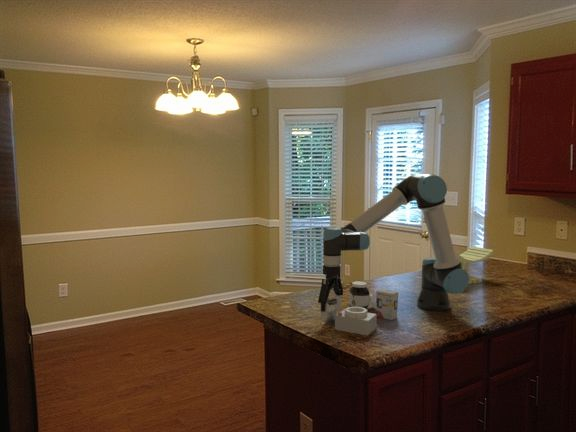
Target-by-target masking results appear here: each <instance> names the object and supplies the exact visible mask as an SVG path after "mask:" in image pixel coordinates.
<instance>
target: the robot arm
mask: <svg viewBox="0 0 576 432" xmlns="http://www.w3.org/2000/svg"><path fill="white" fill-rule="evenodd" d="M447 193H448V187H447V183H446V181H445V180H444V179H443V177H441V176H439V175H436V174H432V173H415V174H411V175H410V176H408V177H406V178H405V179H403V180H402V181H400V182H399V183H398V184H396V185H395V186H394V187H392V190H391V192H389V193H388V194H386V195H385V196H384V197H382V198H381V199H380V200H379V201H377V202H376V203H374V204H373V205H372V206H370V207H369V208H368V209H367V210H365V211H364V212H363V213H361V214H359V216H357V217H356V218H355V219H352V221H350V222H349V223H348V224H346V225H345V226H342V227H326V228H324V230H323V235H322V240H323V241H322V244H323V245H322V251H323V252H322V264H323V265H322V274H323V275H325V278H322V279H321V286H320V291H319V296H318V300H317V302H318V304H320V319H322V320H326V319H327V307H328V303H327V300H328V298H329V296H330V292H331V290H333V291H334V295H333V297H334V299H337V306H336V312H337V311H339V312H341V303H342V302H341V301H342V300H341V299H342V298H341V297H342V296H343V295H344V290H343V289H344V288H343V284H342V279H341V278H342V277H341V276H342V275H341V274H342V272H341V271H342V268H341V267H342V266H341V264H342V251H343V252H344V251H364V250H365V251H366V250H368V249H369V247H370V245H371V244H370V243H371V242H370V241H371V240H370V236H369V234H368V233H367V231H369V230H370V229H371V228H373V227H374V226H376V225H377V224H378V223H380V222H381V221H383V220H384V219H385V218H387V217H388V216H389V215H390V214H391V213H394V211H396V210H397V209H398V208H400V207H401V206H407V204H409V203H411V202H414V201H416V205H417V208H418V209H419V210H420V211H422V214H423V217H424V221H425V225H426V228H427V232H428V236H429V240H430V245H431V247H432V251H433V255H434V257H430V258H428V257H427V258H424V259H423V260H422V263H421V288H420V291H419V294H418V297H417V299H416V305H417V307H419V308H421V309H424V310H427V311H428V310H430V311H446V310H450V308H451V301H450V300H451V299H450V296H449V294H453V295H459V294H461V293H463V292H464V291H465V290H466V289H467V287H468V286H469V285H470V284H469V275H470V274H469V273H468V272H467V271H466V270H464V269H462V265H461V262H460V259H458V258H456V257H455V254H456V253H455V250H454V245H453V242H452V237H451V235H450V229H449V225H448V223H447V218H446V214H445V210H444V205H445V203H446V198H445V197H446V195H447ZM468 274H469V275H468ZM468 284H469V285H468Z"/></svg>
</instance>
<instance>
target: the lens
mask: <svg viewBox="0 0 576 432" xmlns="http://www.w3.org/2000/svg"><path fill="white" fill-rule="evenodd" d="M327 303H328V307H327V319H325V325H335V315H336V314H337V310H336V306H337V299H334V298H331V297H330V298H329V297H328V300H327Z"/></svg>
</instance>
